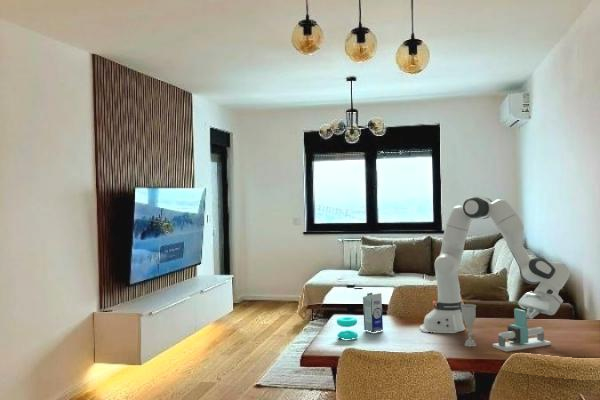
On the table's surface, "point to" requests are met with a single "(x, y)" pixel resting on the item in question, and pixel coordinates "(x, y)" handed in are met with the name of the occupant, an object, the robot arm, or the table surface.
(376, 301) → the milk carton
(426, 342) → the table surface
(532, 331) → the pipe stand
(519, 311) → the teal notched saddle block
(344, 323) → the donuts
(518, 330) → the dark gray block
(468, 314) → the chalice
